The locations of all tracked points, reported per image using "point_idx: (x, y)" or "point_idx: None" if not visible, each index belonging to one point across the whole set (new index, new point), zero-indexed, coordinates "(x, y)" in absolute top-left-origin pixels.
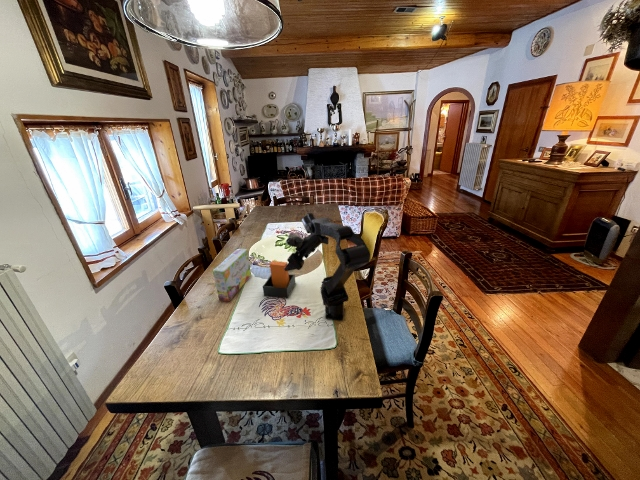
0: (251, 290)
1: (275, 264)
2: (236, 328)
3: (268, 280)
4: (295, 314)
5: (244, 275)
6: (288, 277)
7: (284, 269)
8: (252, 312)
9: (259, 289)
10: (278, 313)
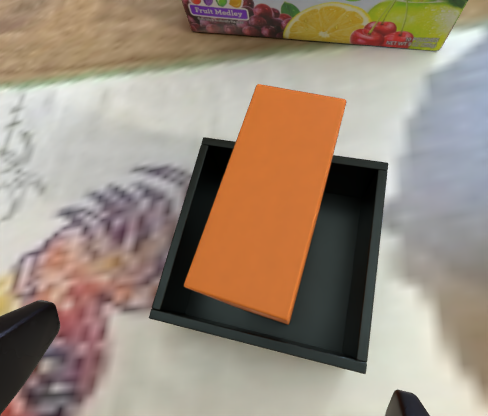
0: None
1: (238, 154)
2: (14, 116)
3: None
4: None
5: (362, 2)
6: (277, 320)
7: (35, 305)
8: (96, 149)
9: None
10: (57, 279)
